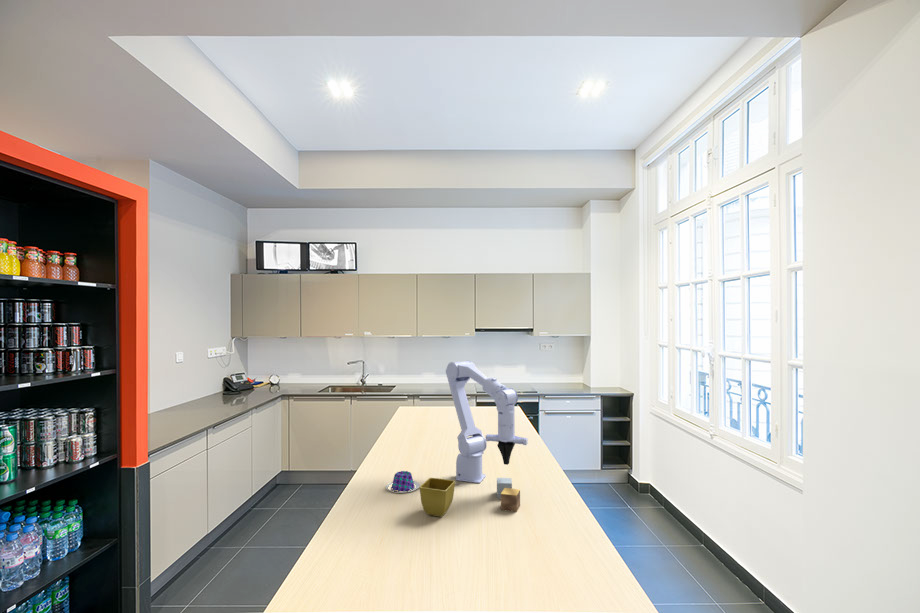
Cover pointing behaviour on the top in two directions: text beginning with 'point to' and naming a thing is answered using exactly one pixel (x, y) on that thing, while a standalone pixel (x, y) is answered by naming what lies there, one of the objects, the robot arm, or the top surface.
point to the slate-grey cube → (503, 485)
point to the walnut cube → (510, 499)
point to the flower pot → (437, 496)
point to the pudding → (403, 482)
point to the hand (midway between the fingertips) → (506, 463)
